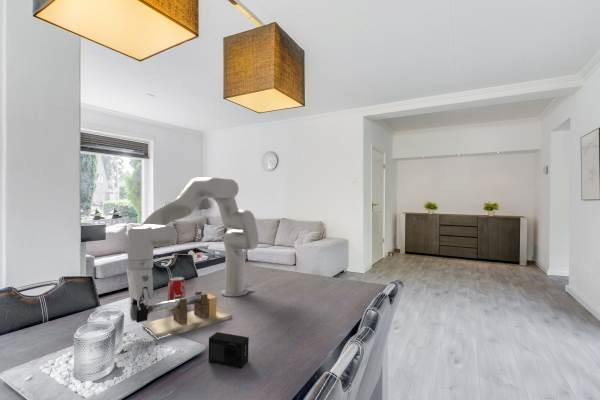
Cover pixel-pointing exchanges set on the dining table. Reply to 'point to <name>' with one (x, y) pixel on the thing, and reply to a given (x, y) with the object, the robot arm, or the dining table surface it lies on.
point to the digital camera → (228, 350)
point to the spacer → (211, 305)
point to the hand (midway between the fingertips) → (139, 318)
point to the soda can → (176, 288)
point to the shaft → (165, 305)
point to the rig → (186, 318)
